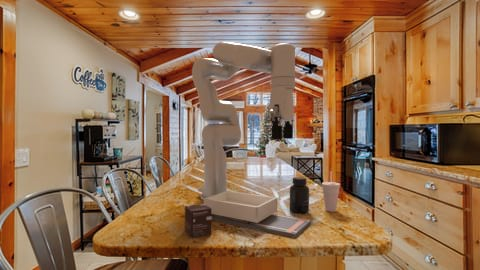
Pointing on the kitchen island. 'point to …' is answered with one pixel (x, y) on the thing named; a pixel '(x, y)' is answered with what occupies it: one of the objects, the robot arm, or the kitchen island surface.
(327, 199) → the smoothie
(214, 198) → the white tray
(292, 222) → the rail board
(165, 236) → the kitchen island surface
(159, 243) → the kitchen island surface
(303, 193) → the supplement bottle
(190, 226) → the box
